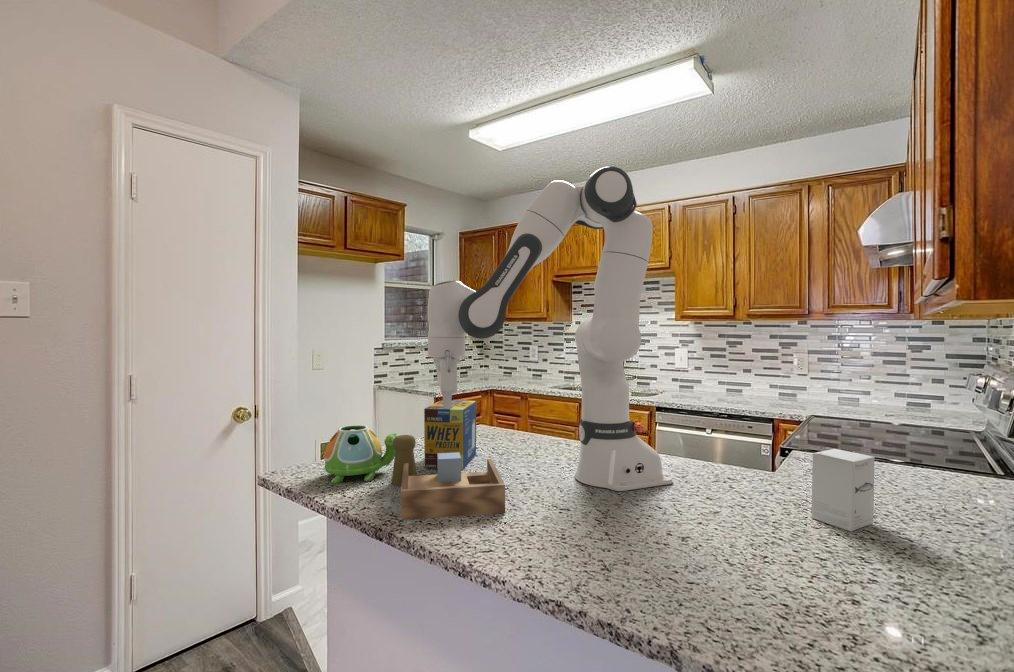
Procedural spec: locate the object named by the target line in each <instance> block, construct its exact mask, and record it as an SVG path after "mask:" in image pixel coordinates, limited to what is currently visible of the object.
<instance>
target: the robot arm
mask: <svg viewBox="0 0 1014 672" xmlns="http://www.w3.org/2000/svg"><path fill="white" fill-rule="evenodd" d="M637 206H638V204H637V200H636V198H635V194H634V188H633V184H632V180H631V178H630V176H629V175H628V174H627V172H626V171H625V170H623V169H622V168H619V167H617V166H611V165H610V166H604V167H602V168H599V169H597V170H595V171H594V172H593V173H591V175H589V177H588V179H587V180H586V182H585V184H584V185H583V186H574V185H573V184H571V183H570V182H568V181H565V180H561V179H560V180H557V179H556V180H553V181H551V182H550V183H548V184H547V185H546V186H545V187H544V188H543V189H542V190H541V191H540V192H539V193H538V194H537V196H536V197H535V198H534V199H533V200H532V202H531V203H530V204H529V206H528V207H527V208H526V209H525V212H524V213H523V214H522V216H521V218H520V220H519V222H518V223H517V224H516V225H517V226H516V227H515V229H514V232H513V234H512V236H511V238H510V239H511V240H510V243H509V247H508V250H507V251H506V253H505V255H504V257H503V259H502V260H501V261H500V262H499V264H498V266H497V267H496V268H495V270H494V272H493V273H492V274H491V275H490V276H489V279H488V280H487V281H486V282H485V284H484V285H483V286H482V287H480V288H479V289H478V290H475V289H472V288H471V287H468V286H467V285H465V284H464V283H463V282H462V281H460V280H448V281H442V282H439V283H436V284H435V285H432V287H431V288H430V290H429V293H428V300H427V322H428V325H429V326H428V327H429V329H428V333H427V357H429V358H432V359H433V361H432V363H433V364H434V365H435V371H436V378H437V383H438V385H439V389H440V392H441V394H442V400H443V406H444V408H445V409H450V408H451V400H453V399H452V397H453V394H456V393H457V392H458V365H460V364H461V358H463V357H466V334H467V335H468V336H470V337H472V338H475V339H479V340H480V339H481V340H483V339H488V338H492V337H494V336H495V335H496V334H497V333H499V331H500V330H501V329H502V327H503V325H504V323H505V319H506V314H507V308H508V305H509V303H510V300H511V299H512V297H513V295H514V294H515V293H516V291H517V290H518V288H519V287H520V285H521V284H522V282H523V281H524V279H525V277H526V276H527V275H528V274H529V272H530V271H531V270H532V269H533V268H534V267H535V266H537V265H538V264H540V263H542V262H544V261H545V260H546V259H547V258H549V256H551V255H552V253H553V252H554V251H555V250H556V249H557V247H559V245H560V244H561V243H562V241H563V240H564V238H565V236H567V234H568V232H569V231H570V229H571V228H572V226H574V224H576V225H580V226H584V227H586V228H588V229H589V228H590V229H592V230H604V243H603V248H602V251H601V256H600V259H599V264H598V268H597V272H596V277H595V281H594V284H593V289H594V301H593V302H594V303H593V311H592V316H589V317H587V318H585V319H584V320H582V322H581V323H580V324H579V325H578V327H577V329H576V331H575V334H574V339H575V343H576V353H577V361H578V370H579V375H580V383H581V384H580V385H581V417H580V419H579V427H578V428H579V442H580V449H579V457H578V462H577V467H576V471H575V474H574V478H575V479H576V480H577V481H579V482H580V483H581V484H582V483H583V484H584V485H589V486H592V487H597V488H603V489H604V488H605V489H609V490H611V491H616V492H624V491H631V490H638V489H645V488H646V489H647V488H651V487H659V486H665V485H666V486H667V485H671V484H673V476H672V475H671V474H670V473H669V472H667V471H666V470H664V469H663V465H662V460H661V457H660V454H659V453H658V452H657V450H656V449H654V448H653V447H652V446H651V445H649V444H648V443H647V442H645V441H644V440H643V439H641V438H640V437H639V436H638V435H637V432H638V433H643V432H644V430H645V425H644V424H643V423H641V422H639V421H638V422H635V421H633V420H631V419H630V387H629V384H628V381H627V378H626V373H625V369H624V364H623V363H624V362H625V361H628V360H629V359H631V358H633V357H634V356H635V355H636V354H637V353H638V352H639V349H640V348H641V344H642V334H641V330H640V311H641V310H640V309H641V308H640V307H641V298H642V297H641V296H642V291H643V287H644V282H645V278H646V273H647V270H648V264H649V261H650V257H651V251H652V244H653V223H652V221H651V219H650V218H649V217H648V216H647V215H645V214H643V213H641V212H638V211H635V210H636V207H637Z"/></svg>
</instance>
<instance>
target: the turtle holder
mask: <svg viewBox="0 0 1014 672" xmlns="http://www.w3.org/2000/svg"><path fill="white" fill-rule="evenodd" d="M397 436H399V435H398V434H397V433H391V434H388V435H387V436H386V437H385V439H384V443H383V444H384V445H385V451H384V454H383V451H382V450H383V449H382V446H381V442H380V439H379V438H378V437H377V435H376V434H375V433H374V432H373V431H372V430H371V429H370V428H369V426H368V425H366V424H365V425H364V424H356V425H355V424H353V425H344V426H341V427H339V428H338V429H337V431H336V432H335V433H334V435H332V437H331V438H330V439H329V441H328V443H327V445H326V448H325V454H324V458H323V459H324V463H325V465H324V469H325V472H326V473H327V474H330V475H335V477H333V478H332V479H331V481H330V483H331V484H339V483H342V482H343V481H344V479H345V477H346V476H358V475H359V476H360V475H365V476H364V477H363V481H364V482H369V481H373V480H374V478H375V476H376V472H377V471H379V470H380V469H381V468H383V467H385V466H388V465H390V464H391V463H392V462H394V459H395V449H394V447H393V440H394V439H395V437H397ZM382 455H383V456H382Z"/></svg>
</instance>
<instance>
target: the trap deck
mask: <svg viewBox="0 0 1014 672" xmlns="http://www.w3.org/2000/svg"><path fill="white" fill-rule="evenodd" d="M486 464H487V465H486V471H478V472H477V471H476V472H461V481H447V482H438V473H437V474H422V475H417V476H409V463H404V467H403V476H402V484H401V487H400V521H408V520H409V521H410V520H421V519H423V520H424V519H435V518H436V519H437V518H449V517H450V518H451V517H463V516H464V517H465V516H479V515H491V514H506V484H505V482H504V480H503V478H502V476H501V475H500V472H499V471H498V469H497V467H496V465H495V463H494V461H493V458H487V459H486Z"/></svg>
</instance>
